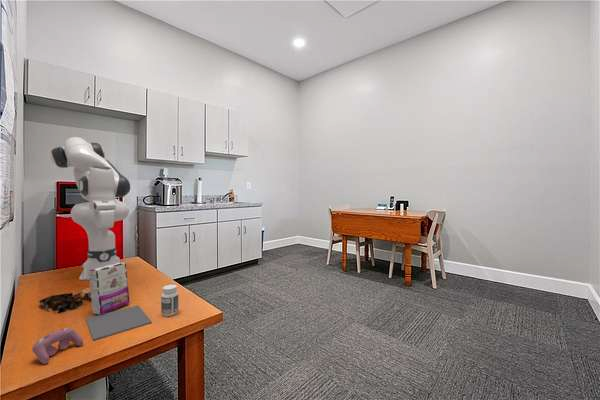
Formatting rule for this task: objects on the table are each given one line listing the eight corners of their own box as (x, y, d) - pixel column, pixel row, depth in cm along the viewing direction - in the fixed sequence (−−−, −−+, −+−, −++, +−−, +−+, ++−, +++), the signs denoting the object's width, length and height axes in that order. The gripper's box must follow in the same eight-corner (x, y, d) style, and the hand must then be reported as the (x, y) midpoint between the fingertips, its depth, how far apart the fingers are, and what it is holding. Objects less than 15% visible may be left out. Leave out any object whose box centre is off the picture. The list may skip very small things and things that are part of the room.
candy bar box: (121, 302, 106) (118, 262, 107) (130, 303, 105) (126, 262, 105) (91, 314, 96) (87, 269, 96) (100, 315, 94) (96, 269, 94)
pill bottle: (173, 308, 102) (173, 283, 102) (181, 312, 99) (181, 286, 98) (158, 313, 98) (158, 287, 97) (165, 318, 94) (165, 290, 94)
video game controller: (76, 347, 78) (68, 325, 79) (86, 343, 77) (78, 320, 78) (34, 369, 69) (26, 343, 70) (45, 364, 68) (36, 338, 68)
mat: (85, 319, 92) (85, 318, 92) (138, 306, 103) (138, 305, 103) (93, 340, 79) (93, 339, 79) (151, 322, 91) (151, 321, 91)
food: (51, 318, 94) (51, 308, 94) (35, 306, 104) (35, 297, 104) (120, 297, 112) (119, 289, 112) (100, 289, 122) (100, 281, 122)
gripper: (89, 204, 115) (91, 236, 116) (97, 205, 101) (98, 241, 101) (107, 204, 120) (108, 234, 120) (116, 204, 105) (118, 239, 106)
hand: (104, 237), depth 111 cm, fingers closed
